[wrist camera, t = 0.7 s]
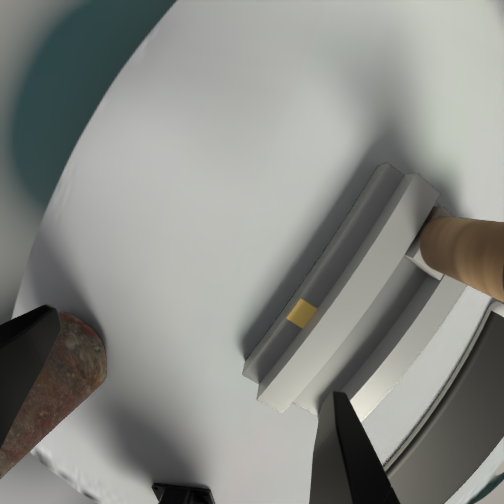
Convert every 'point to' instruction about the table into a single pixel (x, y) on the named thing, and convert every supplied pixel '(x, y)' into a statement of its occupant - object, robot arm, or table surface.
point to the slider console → (358, 306)
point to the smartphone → (456, 423)
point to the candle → (56, 388)
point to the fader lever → (461, 251)
